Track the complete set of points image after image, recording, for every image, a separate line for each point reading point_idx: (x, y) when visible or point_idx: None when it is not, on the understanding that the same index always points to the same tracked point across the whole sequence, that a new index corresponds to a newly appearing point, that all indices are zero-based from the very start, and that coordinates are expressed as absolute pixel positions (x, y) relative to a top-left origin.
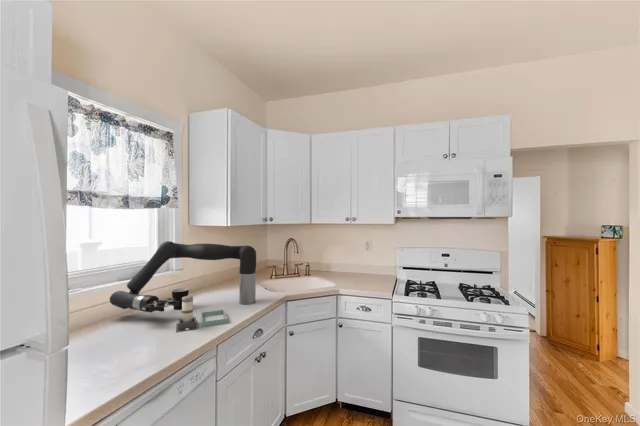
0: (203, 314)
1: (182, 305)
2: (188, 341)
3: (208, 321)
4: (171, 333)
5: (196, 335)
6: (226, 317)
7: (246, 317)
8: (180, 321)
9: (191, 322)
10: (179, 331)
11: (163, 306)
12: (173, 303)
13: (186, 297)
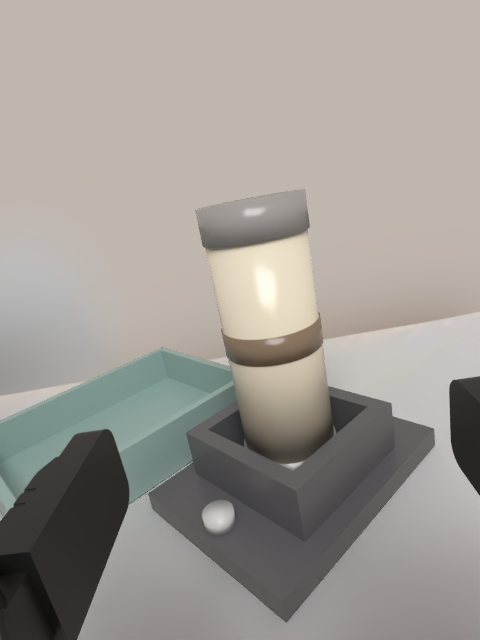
0: None
1: (310, 271)
2: (424, 358)
3: (226, 366)
4: (448, 488)
5: (349, 379)
6: (144, 356)
7: (50, 389)
8: (332, 437)
9: None
10: (403, 426)
11: (461, 380)
12: (72, 563)
13: (261, 197)
